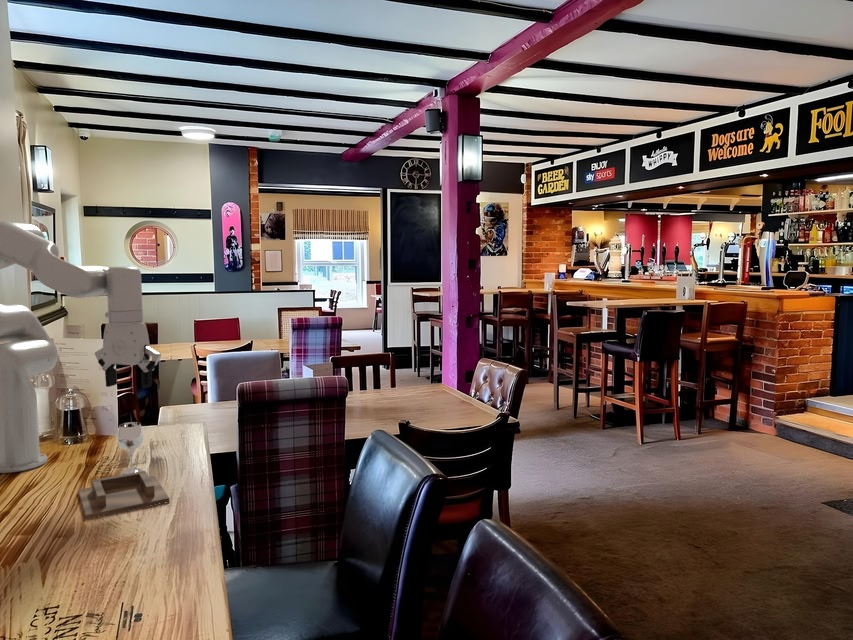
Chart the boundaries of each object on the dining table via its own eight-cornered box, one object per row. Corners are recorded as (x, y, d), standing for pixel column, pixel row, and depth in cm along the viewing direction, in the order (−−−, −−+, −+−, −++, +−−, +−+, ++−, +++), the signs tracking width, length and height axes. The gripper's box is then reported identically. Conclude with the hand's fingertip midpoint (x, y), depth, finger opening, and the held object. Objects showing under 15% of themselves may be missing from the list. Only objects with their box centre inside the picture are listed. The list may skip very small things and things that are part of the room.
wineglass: (149, 468, 152) (147, 422, 150) (136, 476, 146) (134, 428, 145) (127, 467, 152) (125, 421, 151) (113, 475, 147) (111, 427, 145)
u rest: (78, 493, 135) (77, 478, 134) (155, 479, 144) (154, 465, 144) (85, 519, 122) (85, 503, 121) (169, 502, 131) (168, 486, 130)
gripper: (83, 318, 143) (87, 388, 145) (148, 319, 140) (151, 391, 142) (105, 315, 150) (108, 382, 152) (167, 316, 147) (170, 384, 149)
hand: (129, 386), depth 147 cm, fingers open, 9 cm apart
